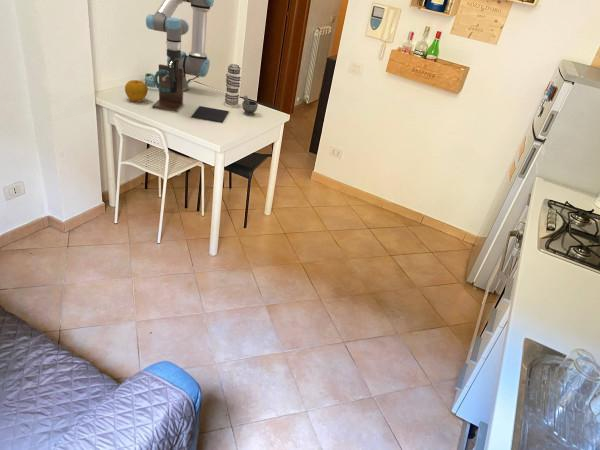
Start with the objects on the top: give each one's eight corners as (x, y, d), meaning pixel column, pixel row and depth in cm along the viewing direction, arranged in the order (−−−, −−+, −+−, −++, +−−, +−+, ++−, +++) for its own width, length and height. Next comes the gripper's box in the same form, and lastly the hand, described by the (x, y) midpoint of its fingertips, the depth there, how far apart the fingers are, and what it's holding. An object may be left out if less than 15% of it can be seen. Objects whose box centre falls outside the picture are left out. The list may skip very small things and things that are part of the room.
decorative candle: (222, 105, 276) (224, 64, 263) (227, 101, 284) (230, 62, 271) (235, 108, 275) (238, 68, 262) (240, 104, 283) (243, 65, 269)
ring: (154, 89, 248) (154, 67, 242) (175, 92, 249) (175, 71, 242) (153, 90, 247) (153, 68, 240) (174, 93, 247) (174, 72, 241)
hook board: (160, 101, 264) (159, 64, 252) (183, 104, 265) (183, 68, 253) (151, 108, 251) (150, 69, 240) (175, 112, 252) (176, 74, 240)
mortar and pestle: (249, 110, 276) (250, 91, 270) (259, 114, 272) (262, 96, 265) (236, 113, 268) (238, 93, 261) (247, 117, 264) (249, 98, 257)
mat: (199, 107, 266) (199, 106, 266) (228, 112, 267) (228, 110, 266) (191, 117, 249) (191, 116, 249) (222, 122, 250) (222, 121, 249)
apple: (144, 96, 266) (144, 77, 260) (151, 103, 258) (150, 84, 251) (122, 97, 259) (121, 77, 253) (128, 104, 251) (127, 84, 245)
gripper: (171, 45, 241) (171, 87, 254) (162, 50, 229) (163, 94, 241) (184, 47, 242) (183, 89, 254) (176, 53, 229) (176, 96, 242)
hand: (173, 92), depth 248 cm, fingers closed on ring, 2 cm apart
